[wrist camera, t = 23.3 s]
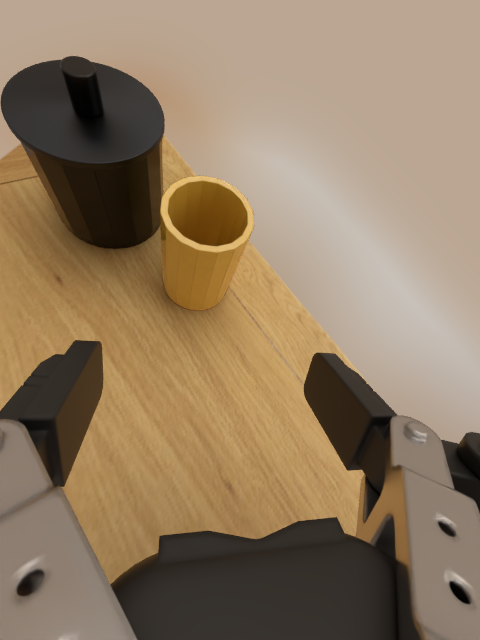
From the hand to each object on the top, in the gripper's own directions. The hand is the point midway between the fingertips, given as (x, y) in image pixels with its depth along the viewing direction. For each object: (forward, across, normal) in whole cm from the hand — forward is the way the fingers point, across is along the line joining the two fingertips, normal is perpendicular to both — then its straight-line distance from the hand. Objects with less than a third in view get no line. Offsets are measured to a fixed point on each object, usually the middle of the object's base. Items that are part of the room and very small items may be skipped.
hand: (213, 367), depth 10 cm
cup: (+18, 0, +2) cm, 19 cm away
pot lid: (+17, +9, -10) cm, 22 cm away
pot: (+24, +8, -3) cm, 26 cm away
